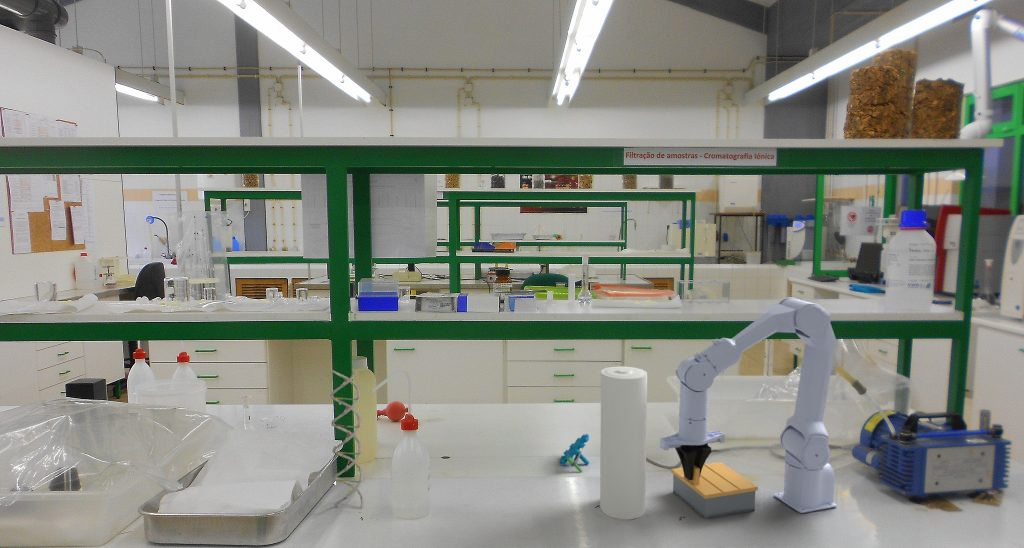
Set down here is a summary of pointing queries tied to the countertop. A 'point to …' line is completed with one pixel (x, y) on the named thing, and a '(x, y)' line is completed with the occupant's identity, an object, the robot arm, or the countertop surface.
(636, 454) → the cylinder container
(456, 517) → the countertop surface
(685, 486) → the tub
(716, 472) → the lid
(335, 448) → the dna model
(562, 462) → the blue knobbly piece
